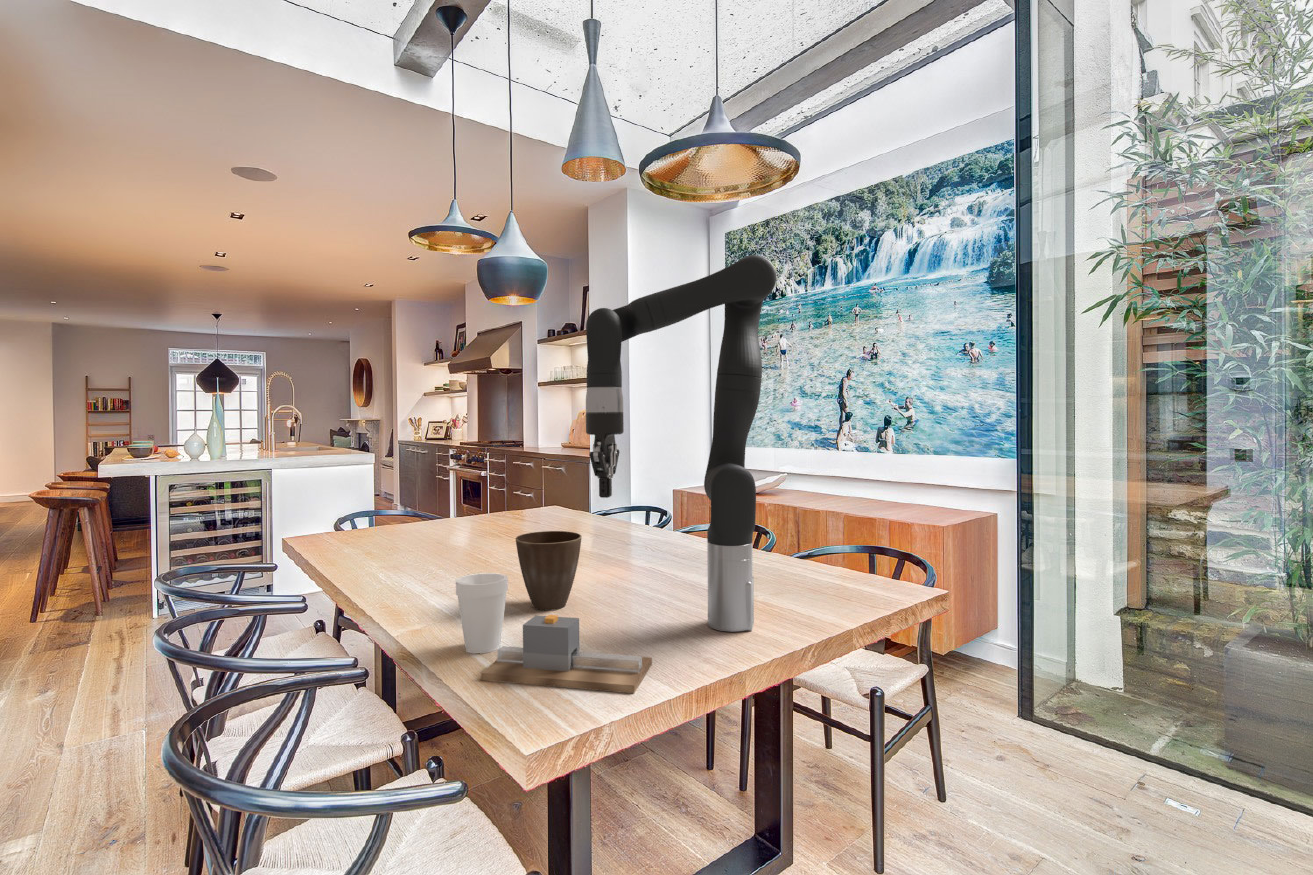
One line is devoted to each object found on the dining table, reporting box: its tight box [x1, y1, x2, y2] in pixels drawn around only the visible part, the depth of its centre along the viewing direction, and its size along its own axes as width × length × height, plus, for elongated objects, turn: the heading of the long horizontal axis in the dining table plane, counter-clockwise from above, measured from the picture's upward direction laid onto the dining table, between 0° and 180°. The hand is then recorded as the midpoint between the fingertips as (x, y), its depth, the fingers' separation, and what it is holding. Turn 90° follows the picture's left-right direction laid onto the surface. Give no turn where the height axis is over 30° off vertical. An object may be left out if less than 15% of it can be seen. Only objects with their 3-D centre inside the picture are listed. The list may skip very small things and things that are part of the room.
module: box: [522, 614, 581, 671], centre depth 110 cm, size 8×5×8 cm
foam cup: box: [455, 572, 509, 654], centre depth 121 cm, size 10×9×13 cm
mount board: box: [480, 656, 653, 694], centre depth 109 cm, size 26×12×1 cm, turn 77°
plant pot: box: [515, 530, 583, 611], centre depth 148 cm, size 15×15×16 cm
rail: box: [496, 645, 643, 674], centre depth 109 cm, size 25×3×2 cm, turn 77°
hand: (605, 497), depth 130 cm, fingers closed
